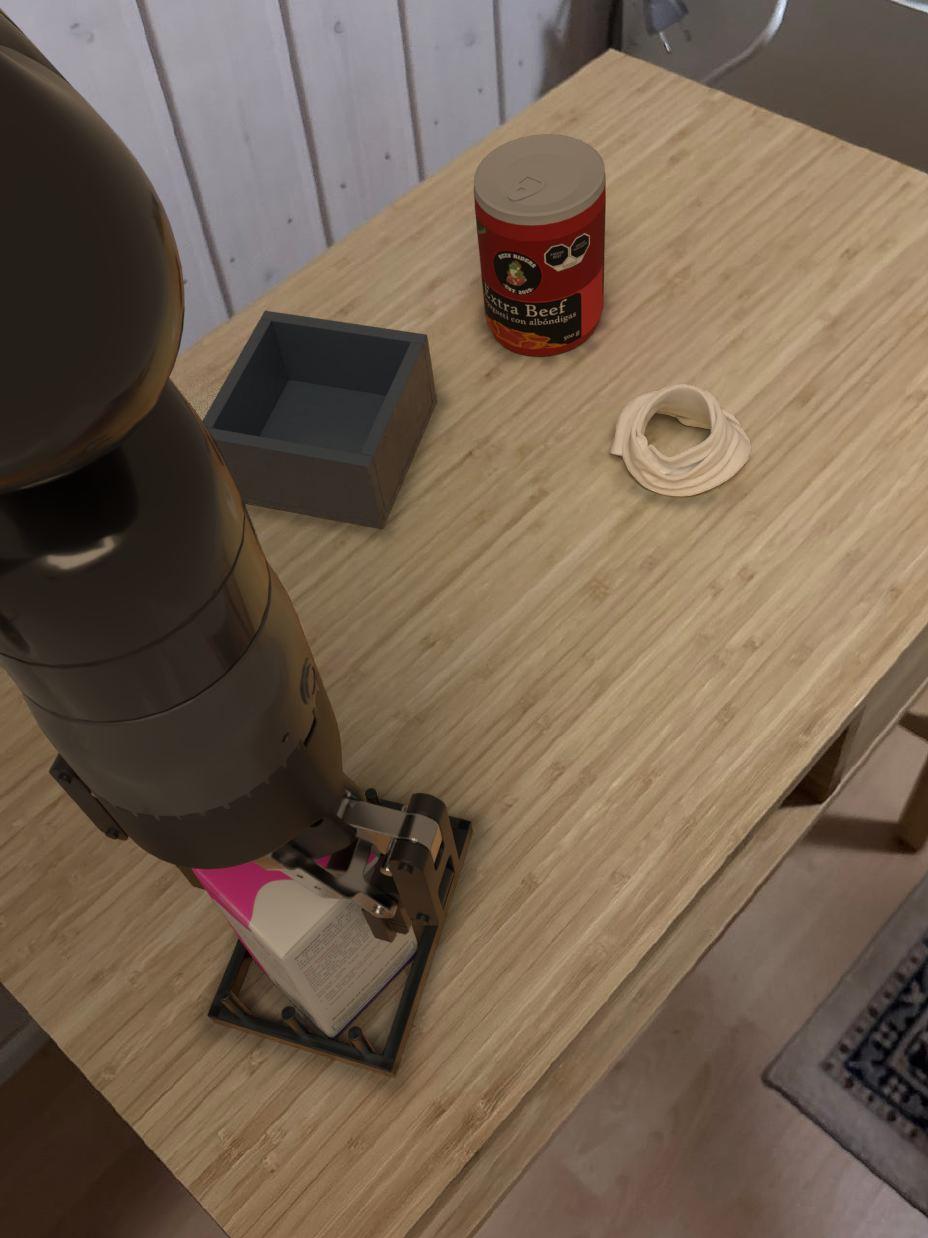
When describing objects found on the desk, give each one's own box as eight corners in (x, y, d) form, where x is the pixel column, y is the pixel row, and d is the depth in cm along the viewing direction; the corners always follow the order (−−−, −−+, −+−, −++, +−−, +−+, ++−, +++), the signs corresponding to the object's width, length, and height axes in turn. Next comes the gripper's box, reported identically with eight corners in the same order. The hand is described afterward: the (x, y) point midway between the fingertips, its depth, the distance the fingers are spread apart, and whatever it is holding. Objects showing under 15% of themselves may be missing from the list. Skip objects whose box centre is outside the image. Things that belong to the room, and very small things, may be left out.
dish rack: (394, 1079, 50) (381, 1057, 47) (213, 1022, 52) (188, 998, 49) (473, 830, 56) (466, 796, 53) (308, 789, 58) (291, 753, 55)
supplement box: (425, 948, 53) (392, 854, 44) (333, 1046, 51) (276, 969, 42) (341, 869, 56) (292, 763, 46) (249, 959, 54) (178, 868, 44)
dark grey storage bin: (382, 529, 67) (367, 466, 63) (219, 498, 70) (193, 435, 65) (437, 400, 73) (427, 333, 68) (284, 376, 75) (264, 309, 70)
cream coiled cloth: (753, 439, 70) (771, 377, 66) (733, 516, 66) (751, 455, 62) (625, 410, 71) (635, 347, 67) (598, 484, 67) (608, 422, 63)
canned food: (466, 343, 75) (450, 200, 66) (516, 267, 79) (507, 121, 70) (575, 372, 73) (573, 228, 64) (620, 292, 77) (625, 145, 68)
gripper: (-91, 749, 33) (107, 934, 47) (374, 873, 30) (441, 1033, 43) (35, 545, 37) (184, 771, 50) (460, 635, 33) (496, 851, 47)
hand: (302, 892), depth 47 cm, fingers closed on supplement box, 7 cm apart
